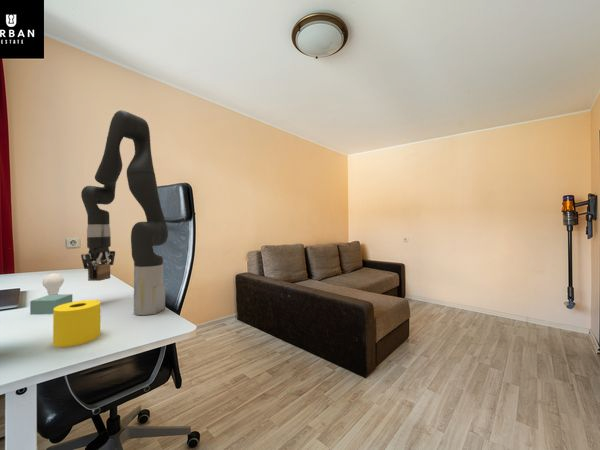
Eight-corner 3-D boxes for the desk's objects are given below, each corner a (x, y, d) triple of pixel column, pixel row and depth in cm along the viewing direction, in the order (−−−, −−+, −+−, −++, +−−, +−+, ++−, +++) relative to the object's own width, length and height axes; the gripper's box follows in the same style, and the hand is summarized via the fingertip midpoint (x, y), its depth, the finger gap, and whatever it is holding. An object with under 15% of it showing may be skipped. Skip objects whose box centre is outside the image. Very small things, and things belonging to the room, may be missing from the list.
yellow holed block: (45, 350, 65) (45, 313, 65) (63, 334, 74) (63, 302, 74) (93, 343, 69) (93, 308, 69) (104, 329, 78) (105, 298, 78)
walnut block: (110, 278, 105) (110, 263, 105) (100, 280, 100) (99, 265, 100) (99, 278, 106) (98, 263, 106) (88, 280, 101) (87, 265, 101)
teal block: (72, 307, 99) (72, 294, 99) (55, 314, 91) (55, 300, 91) (49, 307, 98) (49, 294, 98) (30, 315, 90) (30, 300, 90)
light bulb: (68, 297, 112) (68, 272, 112) (51, 301, 105) (52, 275, 105) (54, 296, 112) (54, 271, 112) (37, 301, 106) (37, 274, 106)
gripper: (92, 236, 96) (92, 281, 96) (121, 235, 110) (122, 274, 110) (73, 236, 96) (74, 281, 96) (105, 235, 111) (105, 274, 110)
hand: (99, 277), depth 103 cm, fingers closed on walnut block, 5 cm apart
